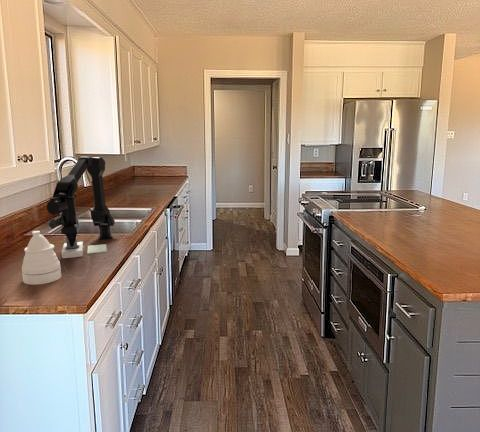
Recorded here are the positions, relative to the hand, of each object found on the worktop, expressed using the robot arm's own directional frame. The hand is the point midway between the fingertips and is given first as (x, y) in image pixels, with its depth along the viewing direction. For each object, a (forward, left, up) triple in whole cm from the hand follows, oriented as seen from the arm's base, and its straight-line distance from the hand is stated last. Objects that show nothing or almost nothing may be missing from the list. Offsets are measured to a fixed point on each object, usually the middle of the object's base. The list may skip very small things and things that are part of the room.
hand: (72, 245), depth 192 cm
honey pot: (+31, -9, -4) cm, 33 cm away
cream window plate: (-1, 0, -4) cm, 4 cm away
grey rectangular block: (0, 0, -4) cm, 4 cm away
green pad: (-2, +10, -4) cm, 11 cm away
